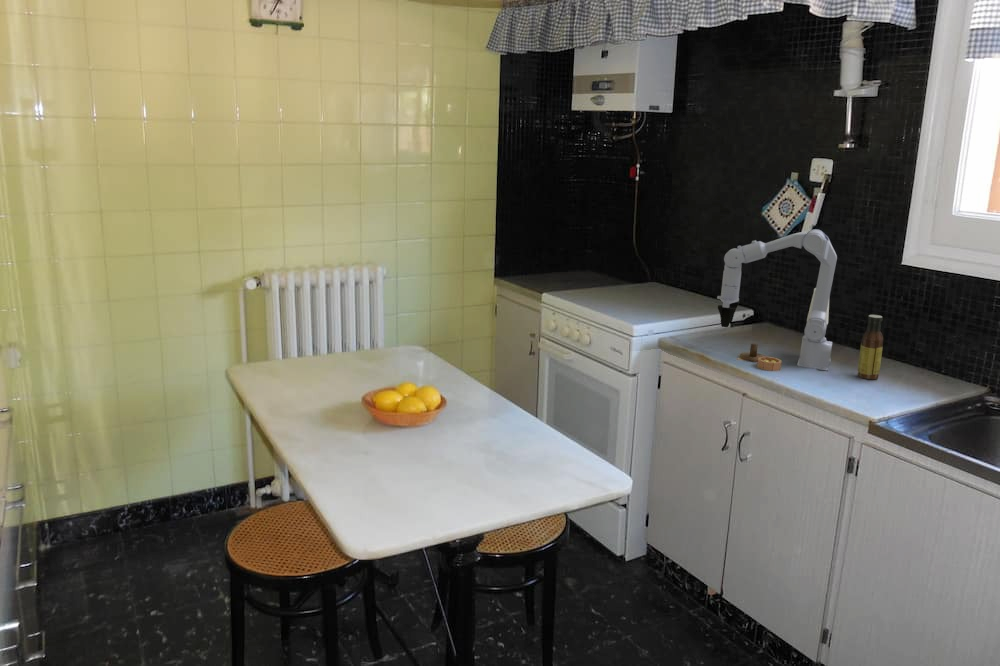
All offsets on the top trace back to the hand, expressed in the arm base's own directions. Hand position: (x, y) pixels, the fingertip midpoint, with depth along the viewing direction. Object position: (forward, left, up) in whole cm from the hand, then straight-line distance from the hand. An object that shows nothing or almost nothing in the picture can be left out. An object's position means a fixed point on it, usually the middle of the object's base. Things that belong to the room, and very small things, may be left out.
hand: (726, 324), depth 269 cm
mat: (-10, +3, -10) cm, 15 cm away
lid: (-10, +3, -10) cm, 14 cm away
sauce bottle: (-45, +4, -10) cm, 46 cm away
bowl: (-16, +11, -10) cm, 22 cm away
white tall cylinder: (-28, -8, -10) cm, 31 cm away
